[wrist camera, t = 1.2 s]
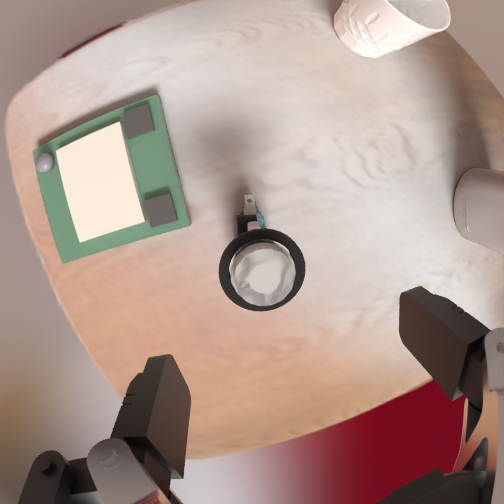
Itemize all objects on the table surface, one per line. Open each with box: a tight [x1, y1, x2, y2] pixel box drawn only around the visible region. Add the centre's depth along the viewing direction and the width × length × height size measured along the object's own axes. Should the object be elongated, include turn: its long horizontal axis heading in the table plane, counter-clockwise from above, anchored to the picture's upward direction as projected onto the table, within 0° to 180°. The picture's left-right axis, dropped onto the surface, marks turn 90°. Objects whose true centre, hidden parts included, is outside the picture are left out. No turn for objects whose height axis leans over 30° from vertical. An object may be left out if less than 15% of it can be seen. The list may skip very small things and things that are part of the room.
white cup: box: [334, 0, 451, 58], centre depth 16 cm, size 8×8×10 cm
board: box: [33, 94, 191, 264], centre depth 22 cm, size 14×12×2 cm
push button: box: [219, 194, 305, 311], centre depth 21 cm, size 7×5×10 cm
